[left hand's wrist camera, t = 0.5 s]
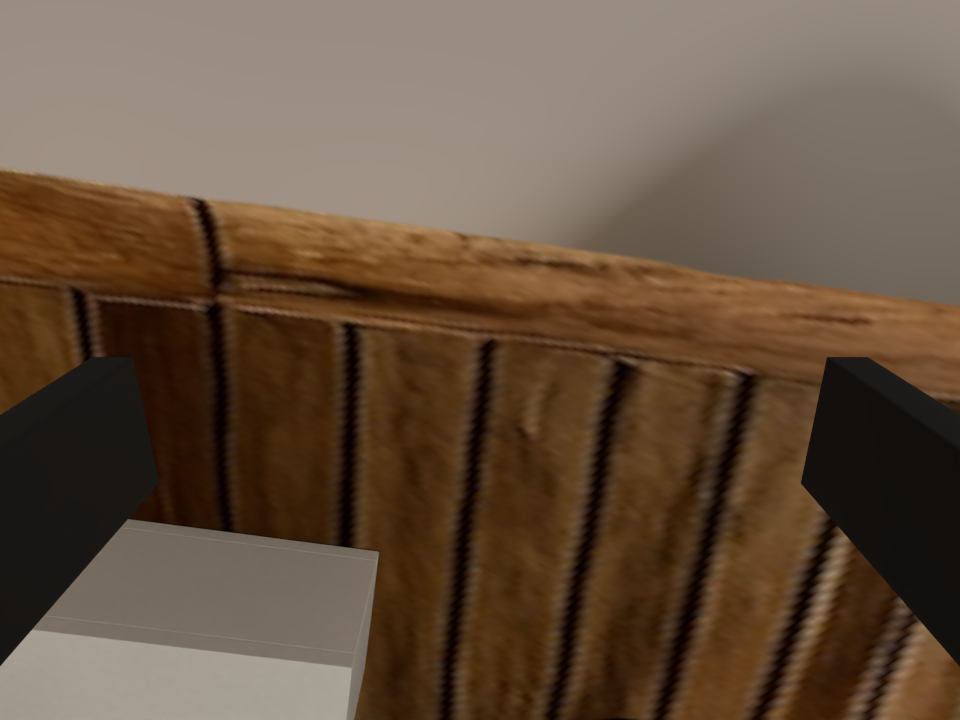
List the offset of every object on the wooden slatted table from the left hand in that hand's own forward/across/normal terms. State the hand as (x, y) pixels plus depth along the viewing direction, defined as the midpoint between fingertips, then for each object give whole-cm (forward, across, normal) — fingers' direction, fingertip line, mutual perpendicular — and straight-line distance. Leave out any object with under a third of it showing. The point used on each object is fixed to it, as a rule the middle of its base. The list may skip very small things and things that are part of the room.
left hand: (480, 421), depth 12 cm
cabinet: (+27, +18, +28) cm, 43 cm away
